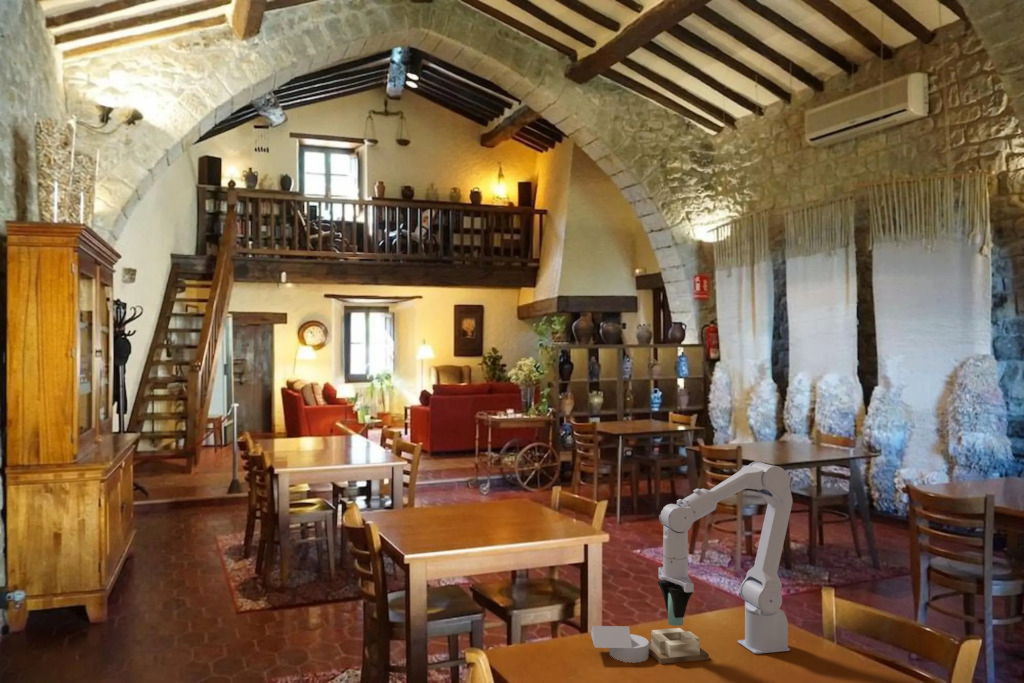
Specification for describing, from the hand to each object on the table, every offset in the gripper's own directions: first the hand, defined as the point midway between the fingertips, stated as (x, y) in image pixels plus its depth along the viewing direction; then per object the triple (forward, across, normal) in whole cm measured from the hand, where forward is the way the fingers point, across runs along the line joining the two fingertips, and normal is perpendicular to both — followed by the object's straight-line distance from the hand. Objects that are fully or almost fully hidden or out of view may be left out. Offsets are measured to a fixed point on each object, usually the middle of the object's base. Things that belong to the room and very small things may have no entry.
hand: (675, 614), depth 180 cm
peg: (+2, 0, 0) cm, 2 cm away
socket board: (+9, 0, 0) cm, 9 cm away
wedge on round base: (+9, -2, -13) cm, 16 cm away
